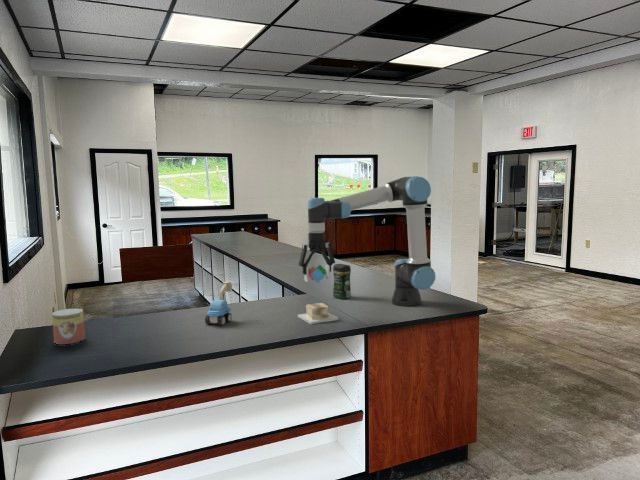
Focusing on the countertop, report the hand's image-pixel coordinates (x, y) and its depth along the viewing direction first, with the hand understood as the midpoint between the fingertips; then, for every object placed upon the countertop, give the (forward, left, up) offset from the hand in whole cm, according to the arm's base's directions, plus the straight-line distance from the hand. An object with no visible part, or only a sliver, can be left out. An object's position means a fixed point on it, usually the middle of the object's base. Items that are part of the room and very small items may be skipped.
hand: (317, 280), depth 219 cm
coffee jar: (-30, -30, -18) cm, 46 cm away
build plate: (0, 0, -18) cm, 18 cm away
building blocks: (-1, 0, 0) cm, 1 cm away
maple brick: (0, 0, -17) cm, 17 cm away
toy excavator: (+40, -18, -18) cm, 48 cm away
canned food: (+102, -21, -18) cm, 106 cm away
